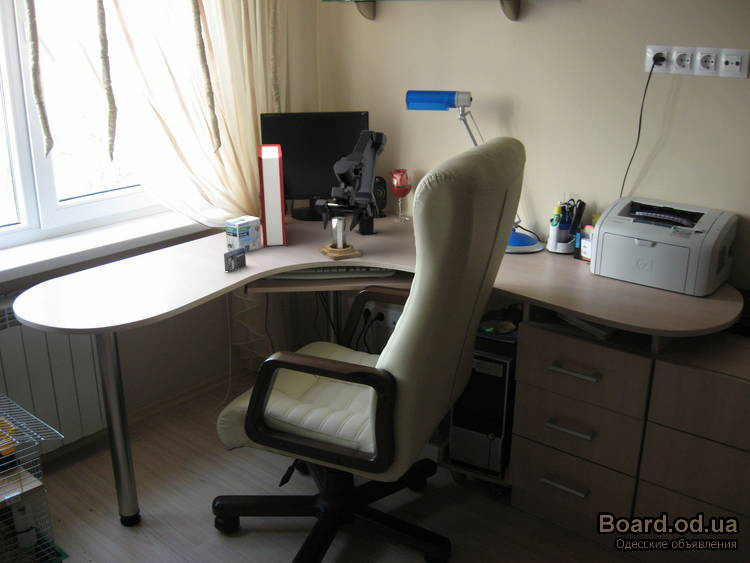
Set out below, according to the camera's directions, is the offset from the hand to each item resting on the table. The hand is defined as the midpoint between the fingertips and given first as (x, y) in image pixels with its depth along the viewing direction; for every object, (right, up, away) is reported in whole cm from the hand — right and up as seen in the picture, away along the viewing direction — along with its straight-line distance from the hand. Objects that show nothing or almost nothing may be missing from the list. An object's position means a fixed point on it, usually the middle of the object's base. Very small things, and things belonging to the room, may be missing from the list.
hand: (337, 229), depth 247 cm
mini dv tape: (-32, -13, -11) cm, 36 cm away
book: (-25, -1, +26) cm, 36 cm away
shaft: (+1, -7, +4) cm, 8 cm away
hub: (+1, -8, +4) cm, 9 cm away
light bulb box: (-33, -6, +11) cm, 35 cm away
